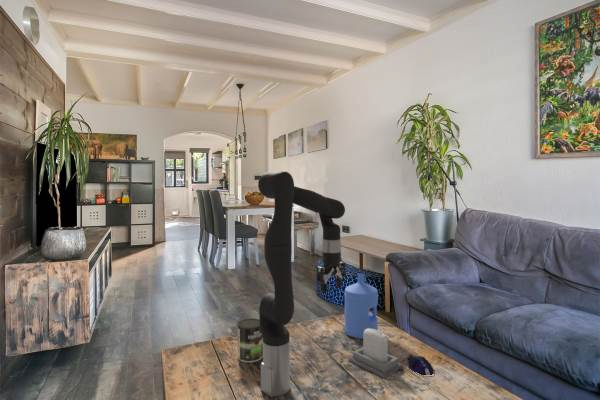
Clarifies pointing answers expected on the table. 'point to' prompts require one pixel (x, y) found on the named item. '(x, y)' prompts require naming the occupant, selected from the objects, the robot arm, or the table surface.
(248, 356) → the coffee can
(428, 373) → the computer mouse
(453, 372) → the table surface
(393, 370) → the dock
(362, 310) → the water jug
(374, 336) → the photo printer
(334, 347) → the table surface
